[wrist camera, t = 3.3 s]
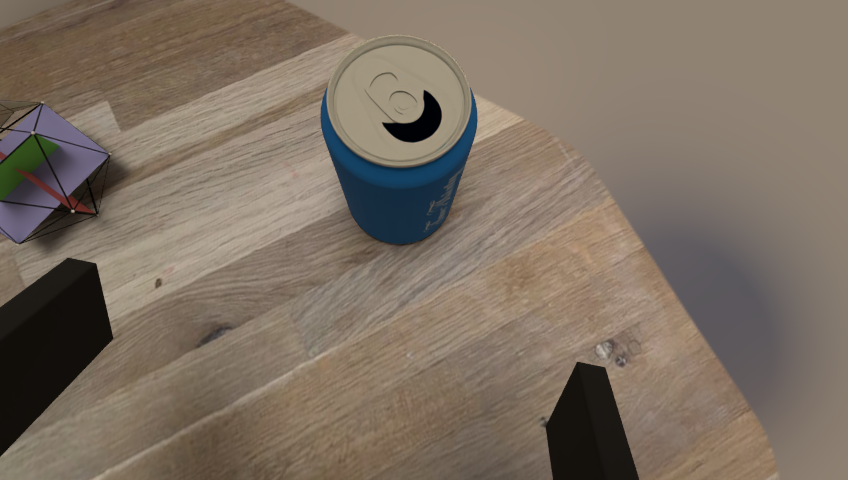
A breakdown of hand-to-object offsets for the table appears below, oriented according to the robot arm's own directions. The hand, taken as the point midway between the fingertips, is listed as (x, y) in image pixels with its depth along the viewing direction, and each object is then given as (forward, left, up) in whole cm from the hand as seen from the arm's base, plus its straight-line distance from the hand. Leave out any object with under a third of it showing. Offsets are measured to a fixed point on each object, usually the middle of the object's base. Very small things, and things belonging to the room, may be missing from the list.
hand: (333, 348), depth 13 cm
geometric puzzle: (+20, -6, -15) cm, 26 cm away
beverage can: (0, -10, -15) cm, 18 cm away
